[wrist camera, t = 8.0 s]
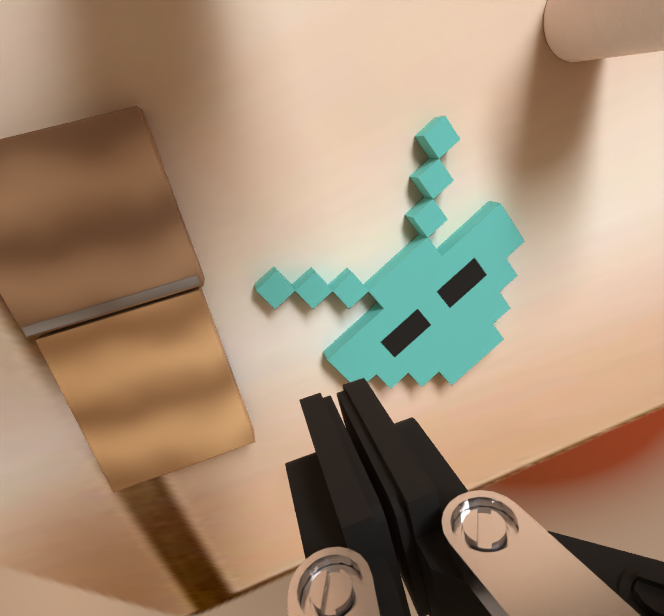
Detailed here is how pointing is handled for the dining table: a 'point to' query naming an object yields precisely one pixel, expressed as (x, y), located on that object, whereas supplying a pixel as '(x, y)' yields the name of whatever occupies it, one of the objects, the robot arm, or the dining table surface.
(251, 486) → the dining table surface
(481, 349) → the alien figure
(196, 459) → the oak plank
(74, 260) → the walnut board
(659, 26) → the coffee cup
